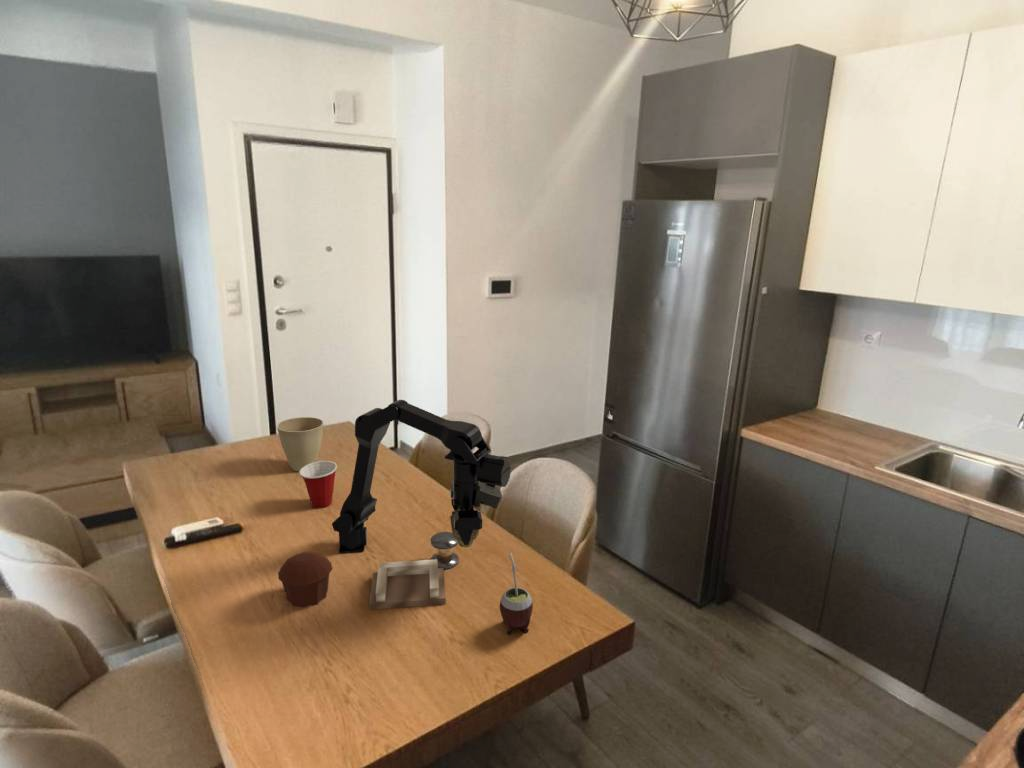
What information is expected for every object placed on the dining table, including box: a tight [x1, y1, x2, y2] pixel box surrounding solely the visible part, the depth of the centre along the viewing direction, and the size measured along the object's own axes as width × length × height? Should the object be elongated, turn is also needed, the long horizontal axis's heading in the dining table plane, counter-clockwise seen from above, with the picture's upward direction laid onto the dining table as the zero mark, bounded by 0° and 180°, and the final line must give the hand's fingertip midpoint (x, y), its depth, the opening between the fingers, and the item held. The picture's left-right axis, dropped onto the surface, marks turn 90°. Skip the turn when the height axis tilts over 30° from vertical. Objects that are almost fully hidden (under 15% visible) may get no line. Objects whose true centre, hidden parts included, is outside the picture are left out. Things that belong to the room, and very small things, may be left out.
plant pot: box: [276, 416, 324, 472], centre depth 200 cm, size 15×15×16 cm
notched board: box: [368, 559, 447, 611], centre depth 137 cm, size 17×12×4 cm
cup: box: [449, 508, 482, 548], centre depth 140 cm, size 8×7×8 cm
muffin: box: [277, 551, 333, 608], centre depth 134 cm, size 12×11×10 cm
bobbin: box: [430, 531, 460, 570], centre depth 148 cm, size 7×7×6 cm
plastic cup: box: [298, 460, 338, 509], centre depth 176 cm, size 11×11×12 cm
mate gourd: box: [499, 551, 534, 636], centre depth 125 cm, size 8×8×15 cm
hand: (465, 537), depth 141 cm, fingers closed on cup, 6 cm apart
